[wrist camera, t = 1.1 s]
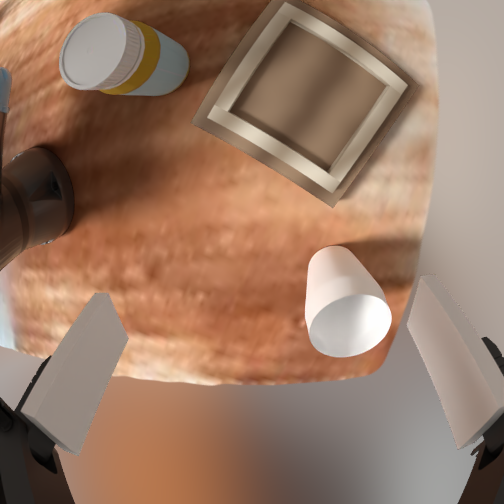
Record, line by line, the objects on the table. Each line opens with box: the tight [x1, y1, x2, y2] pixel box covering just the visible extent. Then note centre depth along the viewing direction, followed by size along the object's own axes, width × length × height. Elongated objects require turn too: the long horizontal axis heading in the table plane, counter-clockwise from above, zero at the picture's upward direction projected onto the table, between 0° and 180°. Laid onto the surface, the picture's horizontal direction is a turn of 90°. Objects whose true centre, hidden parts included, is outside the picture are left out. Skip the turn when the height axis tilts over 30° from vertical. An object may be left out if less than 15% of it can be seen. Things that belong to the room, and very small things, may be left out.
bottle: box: [59, 12, 190, 96], centre depth 20 cm, size 7×7×15 cm
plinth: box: [191, 0, 419, 208], centre depth 26 cm, size 18×18×4 cm
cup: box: [305, 246, 391, 357], centre depth 32 cm, size 9×9×12 cm
